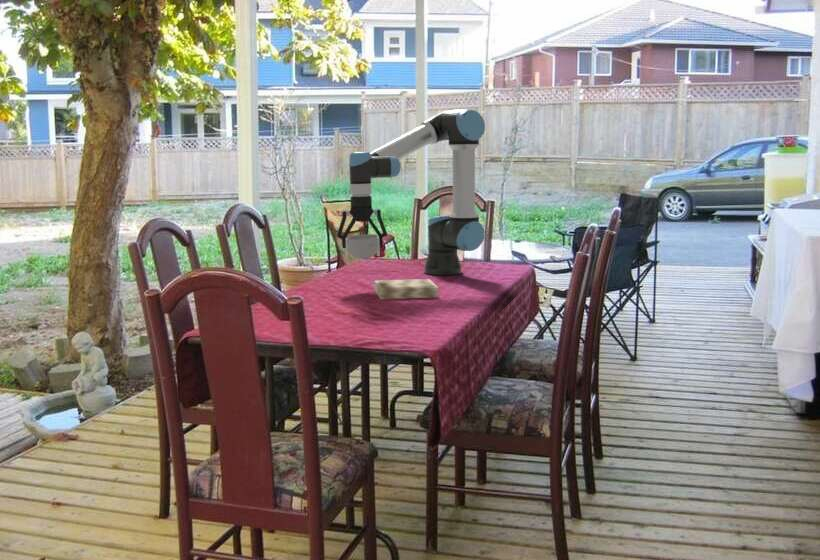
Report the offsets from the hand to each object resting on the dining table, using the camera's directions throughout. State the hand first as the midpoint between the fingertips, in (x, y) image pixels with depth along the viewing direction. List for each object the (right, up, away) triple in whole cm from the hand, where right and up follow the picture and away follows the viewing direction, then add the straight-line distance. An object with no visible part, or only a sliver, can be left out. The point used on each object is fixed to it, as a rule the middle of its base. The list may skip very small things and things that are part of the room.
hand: (362, 256), depth 320 cm
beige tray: (+16, -13, -10) cm, 23 cm away
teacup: (0, 0, 0) cm, 1 cm away
